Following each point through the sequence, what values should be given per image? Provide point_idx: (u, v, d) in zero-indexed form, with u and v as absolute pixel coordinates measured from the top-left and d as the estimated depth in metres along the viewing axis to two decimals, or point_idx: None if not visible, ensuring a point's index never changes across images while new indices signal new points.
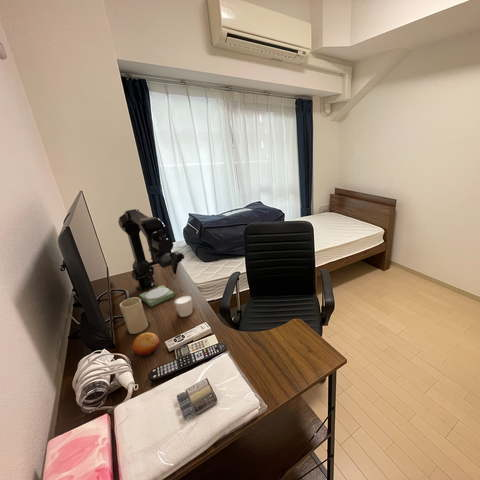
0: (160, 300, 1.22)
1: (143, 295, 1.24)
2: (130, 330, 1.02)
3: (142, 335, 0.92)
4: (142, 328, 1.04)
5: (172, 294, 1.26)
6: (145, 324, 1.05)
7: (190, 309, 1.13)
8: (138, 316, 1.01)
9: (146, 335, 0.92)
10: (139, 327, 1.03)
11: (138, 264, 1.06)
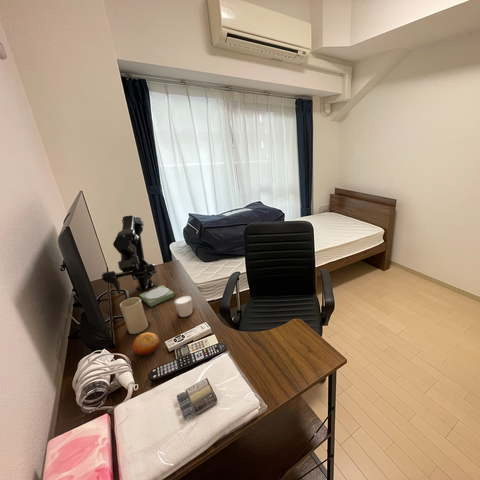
0: (160, 300, 1.22)
1: (143, 295, 1.24)
2: (130, 330, 1.02)
3: (142, 335, 0.92)
4: (142, 328, 1.04)
5: (172, 294, 1.26)
6: (145, 324, 1.05)
7: (190, 309, 1.13)
8: (138, 316, 1.01)
9: (146, 335, 0.92)
10: (139, 327, 1.03)
11: None
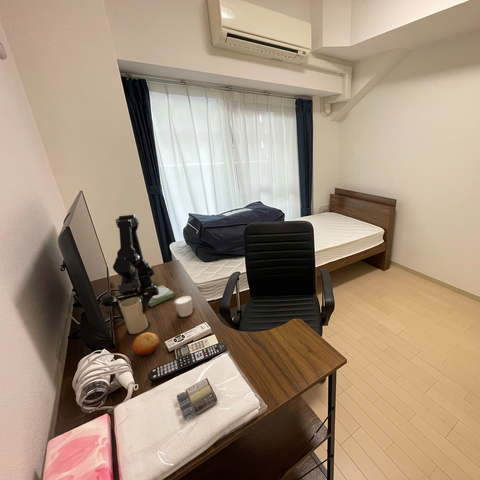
0: (160, 300, 1.22)
1: None
2: (130, 330, 1.02)
3: (142, 335, 0.92)
4: (142, 328, 1.04)
5: (172, 294, 1.26)
6: (145, 324, 1.05)
7: (190, 309, 1.13)
8: (138, 316, 1.01)
9: (146, 335, 0.92)
10: (139, 327, 1.03)
11: None
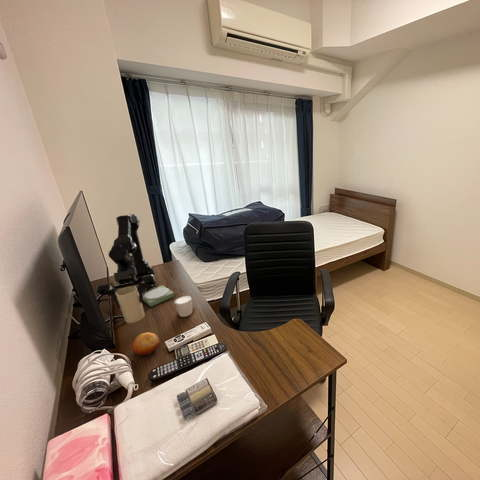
0: (160, 300, 1.22)
1: None
2: (126, 319, 1.00)
3: (142, 335, 0.92)
4: (139, 317, 1.02)
5: (172, 294, 1.26)
6: (142, 313, 1.03)
7: (190, 309, 1.13)
8: (134, 305, 0.99)
9: (146, 335, 0.92)
10: (136, 316, 1.01)
11: None
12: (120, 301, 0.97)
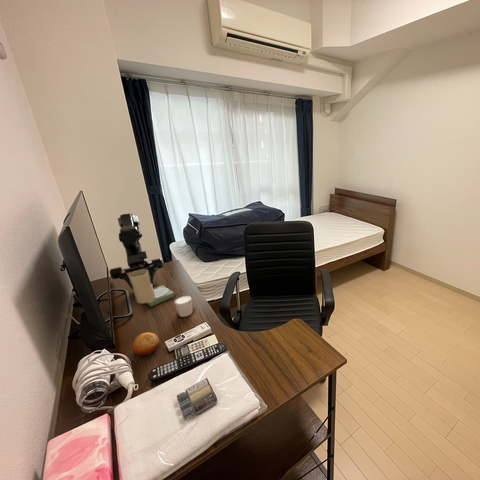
0: (160, 300, 1.22)
1: None
2: (139, 300, 1.07)
3: (142, 335, 0.92)
4: (151, 298, 1.09)
5: (172, 294, 1.26)
6: (153, 294, 1.11)
7: (190, 309, 1.13)
8: (147, 286, 1.07)
9: (146, 335, 0.92)
10: (148, 297, 1.08)
11: None
12: (134, 282, 1.04)
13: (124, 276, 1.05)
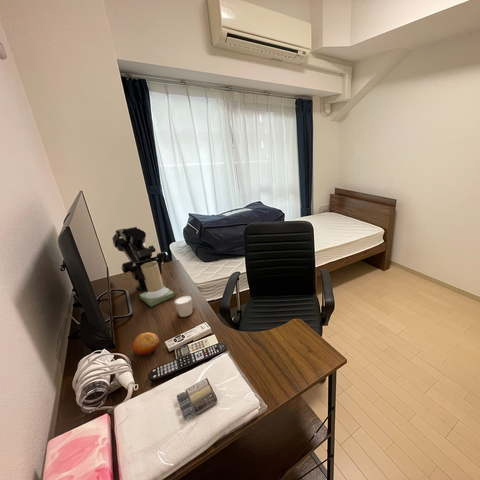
0: (160, 300, 1.22)
1: (143, 295, 1.24)
2: (152, 288, 1.21)
3: (142, 335, 0.92)
4: (161, 286, 1.24)
5: (172, 294, 1.26)
6: (162, 283, 1.25)
7: (190, 309, 1.13)
8: (158, 275, 1.21)
9: (146, 335, 0.92)
10: (159, 285, 1.23)
11: None
12: (147, 273, 1.18)
13: (136, 269, 1.17)
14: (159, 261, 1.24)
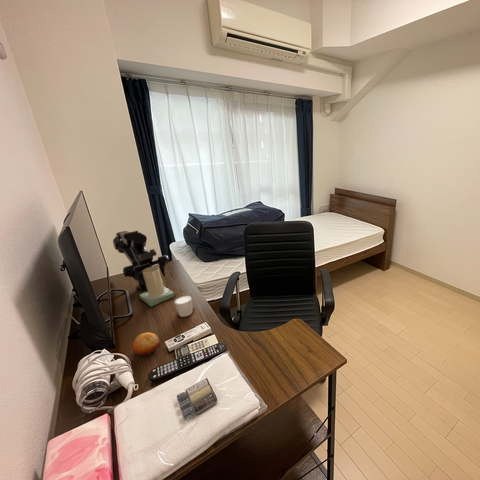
0: (160, 300, 1.22)
1: (143, 295, 1.24)
2: (153, 293, 1.22)
3: (142, 335, 0.92)
4: (162, 291, 1.25)
5: (172, 294, 1.26)
6: (163, 288, 1.26)
7: (190, 309, 1.13)
8: (159, 280, 1.22)
9: (146, 335, 0.92)
10: (160, 290, 1.24)
11: None
12: (148, 278, 1.19)
13: (135, 273, 1.17)
14: (162, 264, 1.26)
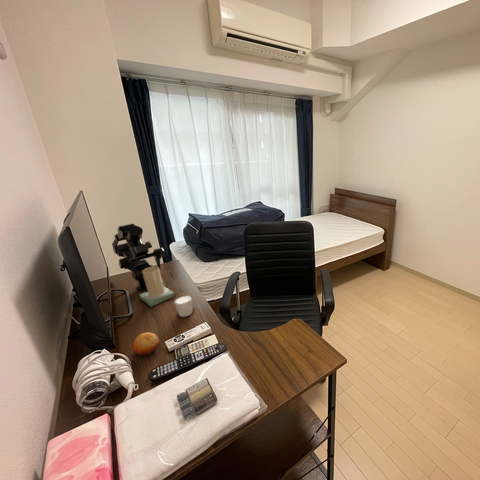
0: (160, 300, 1.22)
1: (143, 295, 1.24)
2: (153, 293, 1.22)
3: (142, 335, 0.92)
4: (162, 291, 1.25)
5: (172, 294, 1.26)
6: (163, 288, 1.26)
7: (190, 309, 1.13)
8: (159, 280, 1.22)
9: (146, 335, 0.92)
10: (160, 290, 1.24)
11: None
12: (148, 278, 1.19)
13: (130, 265, 1.18)
14: (158, 256, 1.27)
